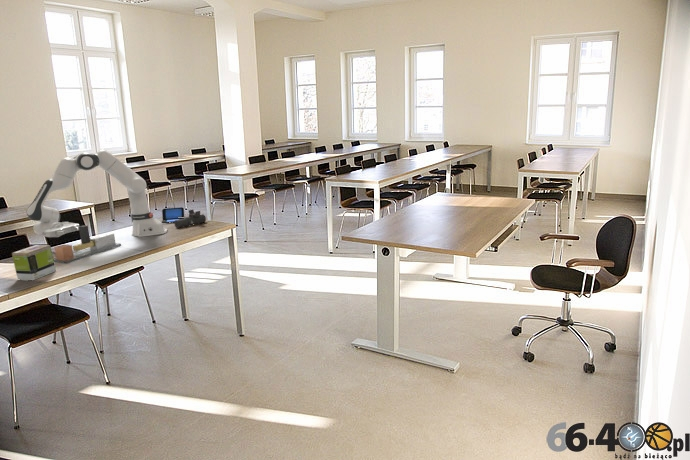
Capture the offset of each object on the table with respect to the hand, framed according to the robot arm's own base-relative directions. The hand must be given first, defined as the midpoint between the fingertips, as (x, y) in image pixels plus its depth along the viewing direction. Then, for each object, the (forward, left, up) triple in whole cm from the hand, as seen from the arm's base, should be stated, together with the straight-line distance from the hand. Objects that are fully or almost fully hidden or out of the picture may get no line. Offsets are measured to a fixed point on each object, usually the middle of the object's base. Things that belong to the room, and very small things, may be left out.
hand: (71, 230), depth 311 cm
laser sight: (-63, -49, -13) cm, 81 cm away
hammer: (-12, +3, -9) cm, 15 cm away
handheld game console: (-48, -68, -14) cm, 84 cm away
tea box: (+5, +45, -13) cm, 47 cm away
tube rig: (-9, +6, -13) cm, 17 cm away
